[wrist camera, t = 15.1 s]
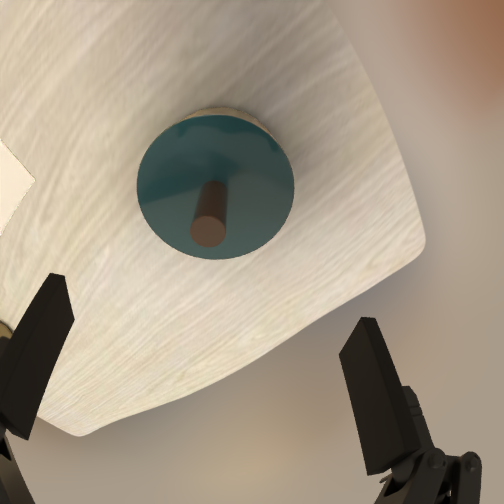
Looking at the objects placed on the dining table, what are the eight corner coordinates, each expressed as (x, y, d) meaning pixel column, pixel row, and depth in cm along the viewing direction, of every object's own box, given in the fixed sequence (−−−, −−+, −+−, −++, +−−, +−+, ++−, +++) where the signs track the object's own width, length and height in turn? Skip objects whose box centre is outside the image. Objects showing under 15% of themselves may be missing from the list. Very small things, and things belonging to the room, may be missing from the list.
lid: (203, 79, 24) (189, 85, 17) (323, 181, 29) (349, 222, 23) (114, 200, 29) (82, 243, 22) (226, 275, 35) (224, 330, 28)
